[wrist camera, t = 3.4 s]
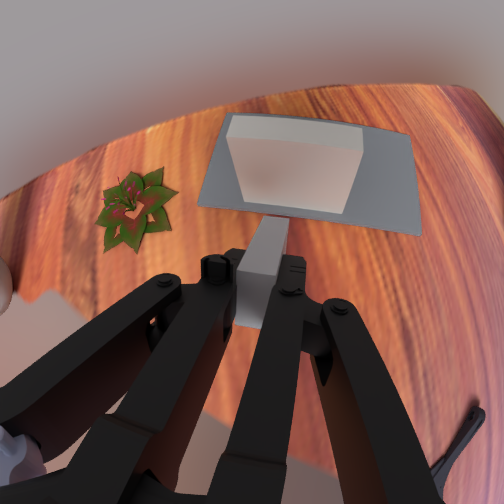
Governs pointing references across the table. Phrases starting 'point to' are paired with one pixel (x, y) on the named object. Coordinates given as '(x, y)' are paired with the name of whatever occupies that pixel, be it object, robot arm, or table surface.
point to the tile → (295, 161)
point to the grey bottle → (5, 286)
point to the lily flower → (116, 209)
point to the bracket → (457, 447)
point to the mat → (362, 191)
